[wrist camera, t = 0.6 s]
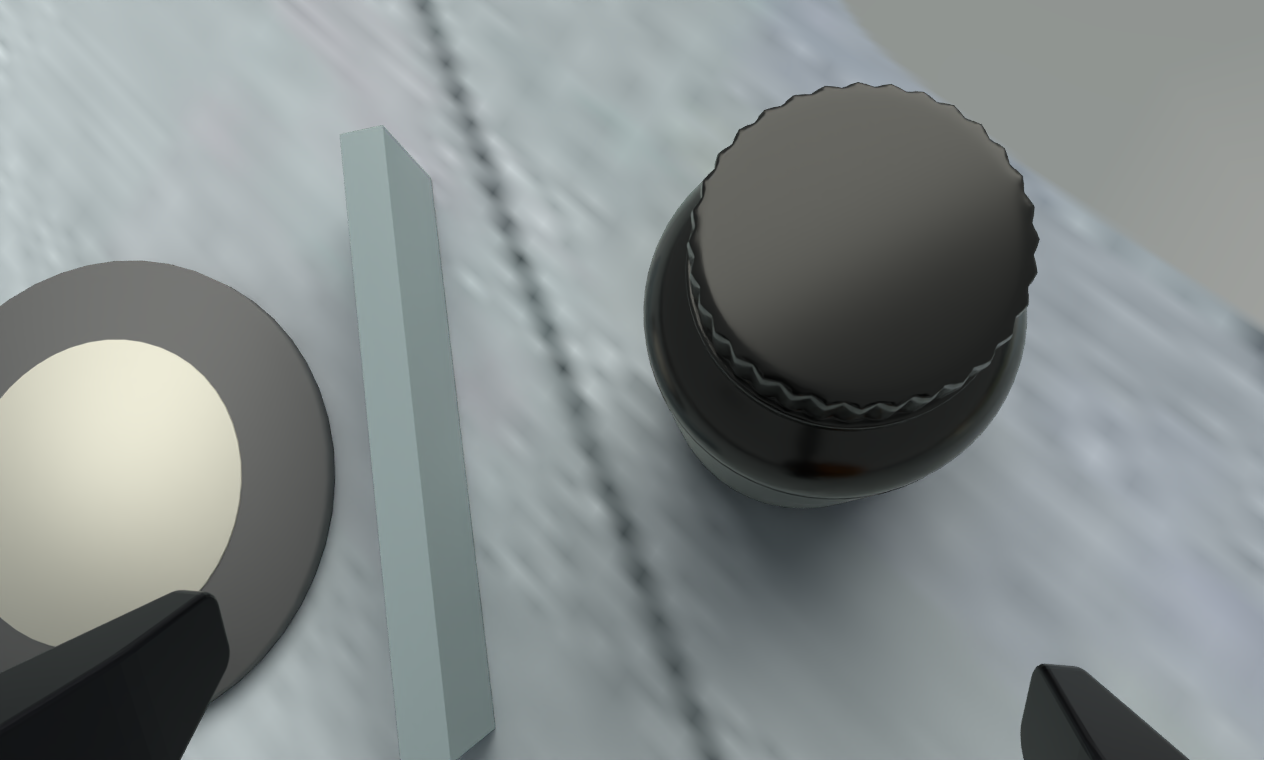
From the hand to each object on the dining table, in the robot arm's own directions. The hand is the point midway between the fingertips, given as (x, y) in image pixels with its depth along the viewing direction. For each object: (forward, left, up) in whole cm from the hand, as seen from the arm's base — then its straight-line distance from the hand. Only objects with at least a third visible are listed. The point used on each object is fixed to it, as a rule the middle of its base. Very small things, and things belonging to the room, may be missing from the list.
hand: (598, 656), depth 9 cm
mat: (-8, +15, -14) cm, 22 cm away
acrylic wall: (-1, +8, -14) cm, 16 cm away
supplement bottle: (+6, 0, -14) cm, 15 cm away
